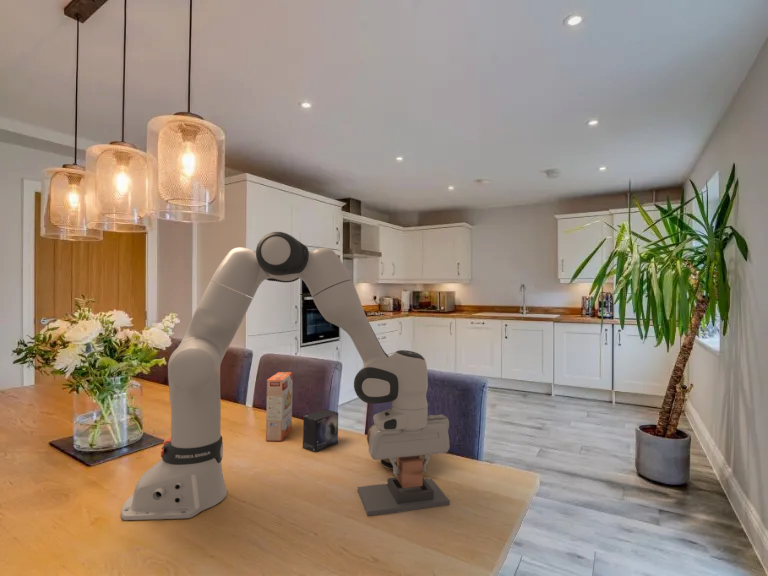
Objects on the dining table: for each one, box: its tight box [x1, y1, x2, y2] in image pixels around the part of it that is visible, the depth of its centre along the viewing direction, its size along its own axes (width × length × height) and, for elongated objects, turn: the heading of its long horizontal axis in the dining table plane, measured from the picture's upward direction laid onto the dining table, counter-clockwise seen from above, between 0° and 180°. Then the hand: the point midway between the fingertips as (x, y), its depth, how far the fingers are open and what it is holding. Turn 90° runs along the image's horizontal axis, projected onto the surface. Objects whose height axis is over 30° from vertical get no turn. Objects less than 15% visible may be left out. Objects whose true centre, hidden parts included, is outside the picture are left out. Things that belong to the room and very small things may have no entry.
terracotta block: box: [396, 456, 424, 488], centre depth 101 cm, size 5×5×6 cm
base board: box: [357, 476, 451, 517], centre depth 101 cm, size 20×12×3 cm, turn 104°
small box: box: [302, 408, 339, 453], centre depth 135 cm, size 11×6×10 cm, turn 143°
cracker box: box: [265, 371, 294, 442], centre depth 145 cm, size 14×6×21 cm, turn 179°
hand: (409, 472), depth 101 cm, fingers closed on terracotta block, 5 cm apart
